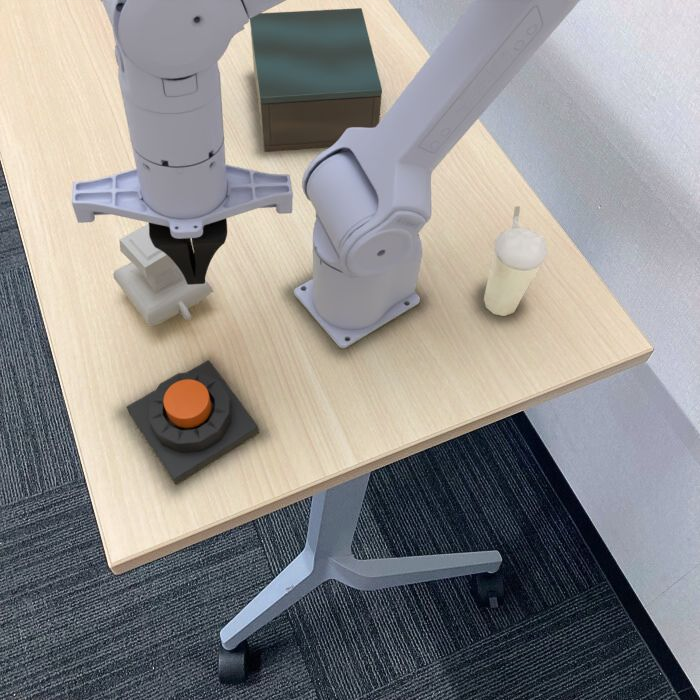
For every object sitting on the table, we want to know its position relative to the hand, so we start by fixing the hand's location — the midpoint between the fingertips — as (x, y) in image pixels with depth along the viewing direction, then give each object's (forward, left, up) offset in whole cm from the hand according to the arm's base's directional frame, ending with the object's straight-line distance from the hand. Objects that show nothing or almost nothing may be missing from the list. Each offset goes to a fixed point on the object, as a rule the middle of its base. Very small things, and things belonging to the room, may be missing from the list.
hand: (195, 274), depth 56 cm
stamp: (+1, -7, -11) cm, 13 cm away
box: (-26, -21, -10) cm, 35 cm away
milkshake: (-25, +11, -11) cm, 30 cm away
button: (+5, +6, -8) cm, 11 cm away
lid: (-26, -21, -4) cm, 34 cm away
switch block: (+5, +6, -10) cm, 13 cm away
